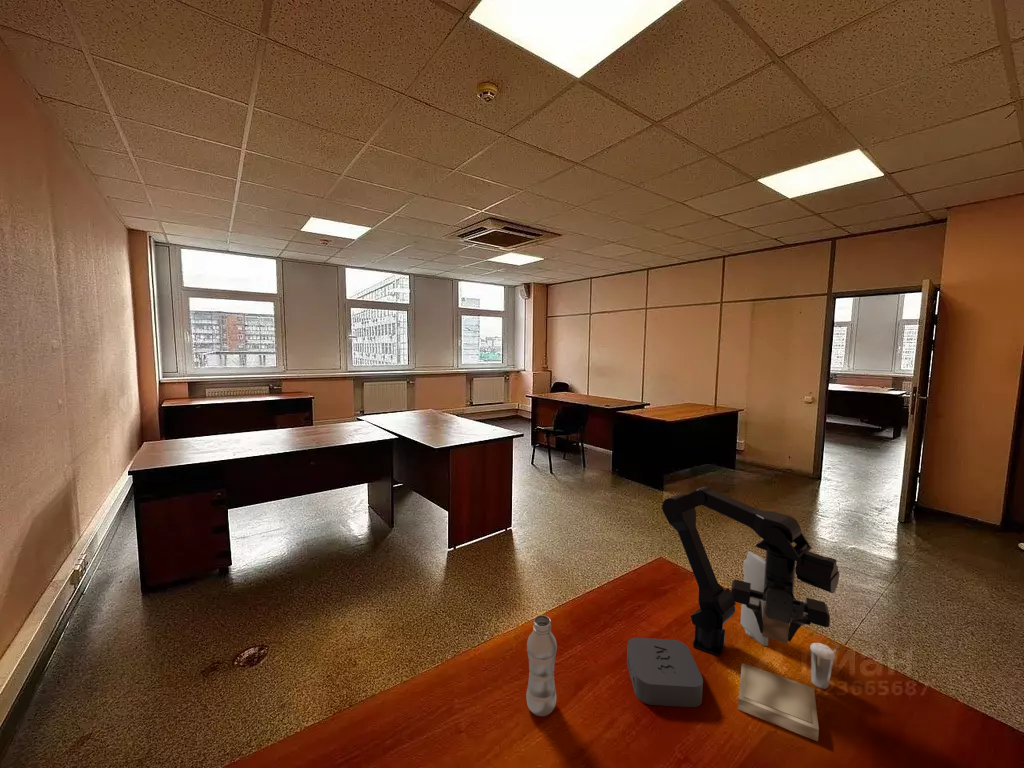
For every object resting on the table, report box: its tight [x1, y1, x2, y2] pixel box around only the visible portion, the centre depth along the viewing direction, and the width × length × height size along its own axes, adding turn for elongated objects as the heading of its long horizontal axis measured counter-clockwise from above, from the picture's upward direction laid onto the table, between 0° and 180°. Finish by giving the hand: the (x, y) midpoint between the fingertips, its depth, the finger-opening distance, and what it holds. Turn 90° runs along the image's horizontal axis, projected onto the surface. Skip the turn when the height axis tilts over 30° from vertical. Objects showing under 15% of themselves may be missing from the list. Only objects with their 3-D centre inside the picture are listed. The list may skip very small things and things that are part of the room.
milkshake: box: [809, 642, 839, 690], centre depth 97 cm, size 4×5×10 cm
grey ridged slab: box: [739, 550, 770, 647], centre depth 113 cm, size 11×4×22 cm, turn 8°
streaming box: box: [626, 637, 704, 708], centre depth 98 cm, size 14×14×5 cm
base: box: [737, 662, 820, 742], centre depth 92 cm, size 14×12×3 cm
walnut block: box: [762, 602, 790, 644], centre depth 100 cm, size 5×5×6 cm
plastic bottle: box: [525, 614, 558, 717], centre depth 90 cm, size 6×7×20 cm
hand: (775, 636), depth 97 cm, fingers closed on walnut block, 5 cm apart
